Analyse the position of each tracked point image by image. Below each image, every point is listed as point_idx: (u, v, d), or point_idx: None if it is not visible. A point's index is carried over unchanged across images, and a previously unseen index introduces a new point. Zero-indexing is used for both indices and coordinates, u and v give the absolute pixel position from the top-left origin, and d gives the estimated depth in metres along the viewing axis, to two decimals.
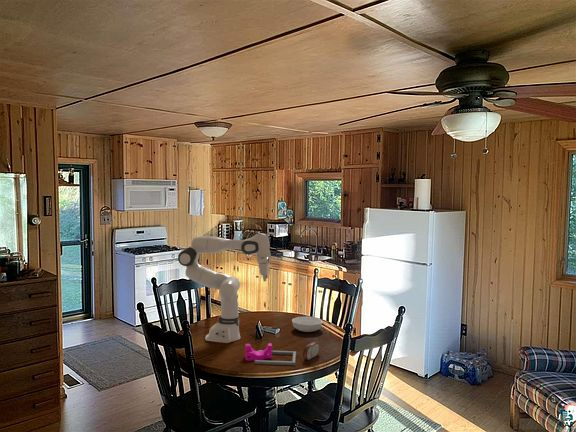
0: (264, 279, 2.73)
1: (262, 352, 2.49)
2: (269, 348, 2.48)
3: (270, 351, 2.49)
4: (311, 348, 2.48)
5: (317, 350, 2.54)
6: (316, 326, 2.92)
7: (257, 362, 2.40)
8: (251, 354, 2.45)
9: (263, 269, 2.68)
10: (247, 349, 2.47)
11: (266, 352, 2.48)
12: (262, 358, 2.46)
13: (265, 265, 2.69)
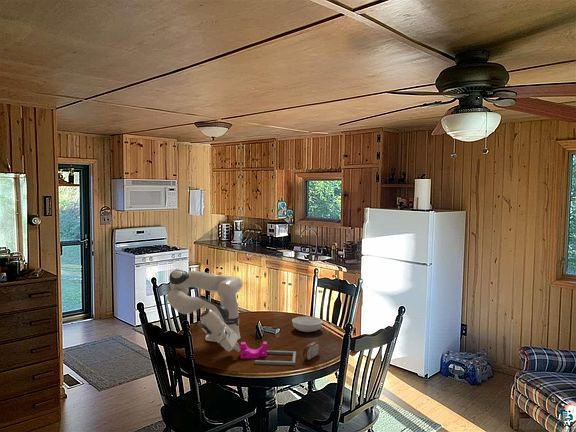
0: (237, 349, 2.47)
1: (257, 350, 2.52)
2: (264, 346, 2.51)
3: (265, 349, 2.51)
4: (311, 348, 2.48)
5: (317, 350, 2.54)
6: (316, 326, 2.92)
7: (257, 362, 2.40)
8: (246, 352, 2.48)
9: (227, 345, 2.39)
10: (242, 347, 2.50)
11: (261, 350, 2.51)
12: (257, 356, 2.49)
13: (226, 340, 2.39)
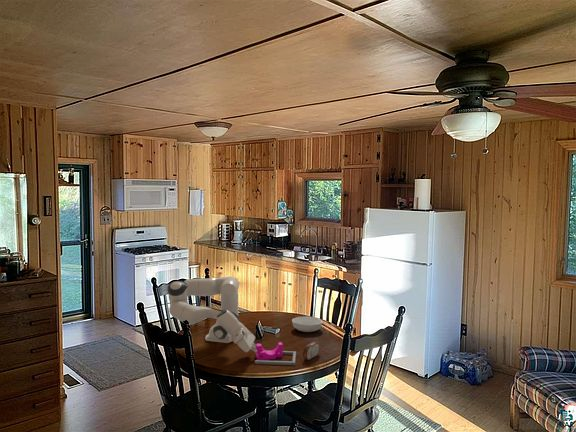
0: (254, 350, 2.46)
1: (273, 351, 2.51)
2: (280, 347, 2.51)
3: (281, 350, 2.51)
4: (311, 348, 2.48)
5: (317, 350, 2.54)
6: (316, 326, 2.92)
7: (257, 362, 2.40)
8: (263, 354, 2.46)
9: (244, 345, 2.38)
10: (258, 349, 2.48)
11: (277, 351, 2.50)
12: (274, 357, 2.47)
13: (243, 340, 2.38)
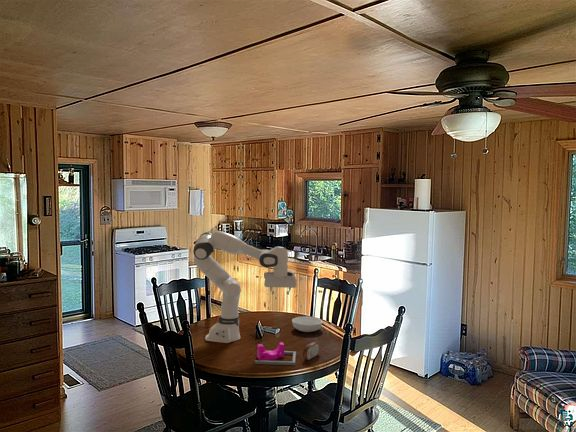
0: None
1: (274, 351, 2.51)
2: (281, 347, 2.50)
3: (282, 350, 2.51)
4: (311, 348, 2.48)
5: (317, 350, 2.54)
6: (316, 326, 2.92)
7: (257, 362, 2.40)
8: (265, 354, 2.45)
9: None
10: (260, 349, 2.47)
11: (279, 351, 2.50)
12: (276, 357, 2.47)
13: (295, 277, 2.73)
